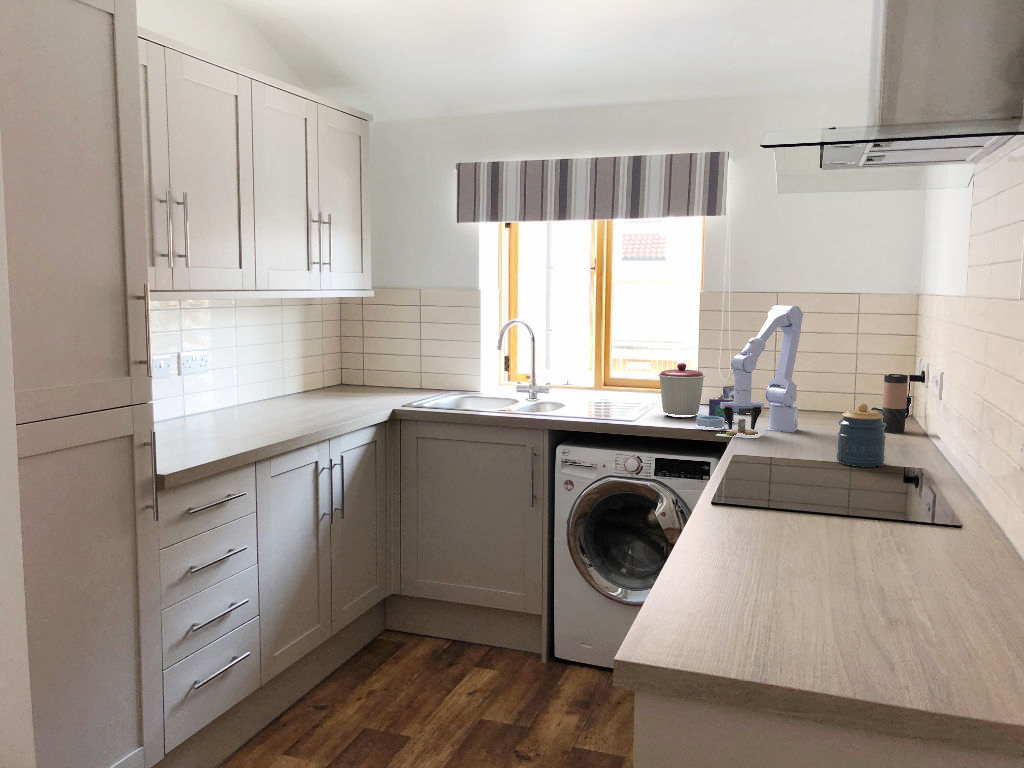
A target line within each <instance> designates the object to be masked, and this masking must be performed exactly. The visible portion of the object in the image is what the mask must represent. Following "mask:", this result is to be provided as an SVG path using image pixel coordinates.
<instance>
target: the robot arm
mask: <svg viewBox="0 0 1024 768" xmlns="http://www.w3.org/2000/svg"><path fill="white" fill-rule="evenodd" d="M803 317H804V312H803V311H802V310H801V308H800V306H798V305H782V304H781V305H779V304H775V305H773V306H772V307H771V308H770V310H769V311H768V312H767V319H766V321H765V322H764V324H763V325H762V327H761V329H760V331H759V332H758V334H757V335H756V337H755V336H754V337H752V338H749V340H748V342H747V343H746V345H745V347H744V348H743V349H742V350H741V352H740V353H739V354H736V355H735V356H734V357H733V358H732V360H731V362H730V367H731V369H732V371H733V373H732V374H733V376H734V377H733V378H734V381H733V383H734V384H733V385H734V402H720V408H723V411H724V413H725V416H726V418H727V422H728V423H727V427H728V428H727V429H730V430H732V429H733V423H732V416H733V411H732V409H731V408H751V414H750V419H751V420H750V430H753V431H755V428H756V424H757V421H758V419H759V416H760V415H761V413H762V410H763V409H765V402H763V401H752V390H751V389H752V382H753V380H752V379H753V378H752V377H753V371H755V369H756V367H757V362H758V360H759V359H758V358H760V356H761V354H762V353H763V352H764V350H765V349H766V348H767V347H766V342H767V341H768V340H769V339H770V337H772V335H773V334H774V333H775V331H776V330H777V329H780V330H781V331H782V333H783V335H782V336H783V338H782V342H781V348H780V352H779V357H778V364H777V368H776V373H775V377H774V378H772V379H771V380H770V381H769V383H768V387H767V388H766V390H765V393H764V396H765V400H766V401H767V402H768V403H767V404H768V405H769V416H768V418H769V419H768V420H769V422H768V427H767V428H765V431H768V430H772V431H771V432H779V431H783V432H782V433H790V432H793V433H795V432H796V431H798V430H799V427H798V426H799V425H798V423H799V408H798V407H797V406H794V404H795V403H796V401H797V398H798V395H797V387H798V386H797V384H796V383H795V382H794V380H793V374H794V369H795V363H796V359H797V353H798V350H799V349H798V348H799V343H800V337H801V333H802V323H803ZM737 406H750V407H737Z"/></svg>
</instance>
